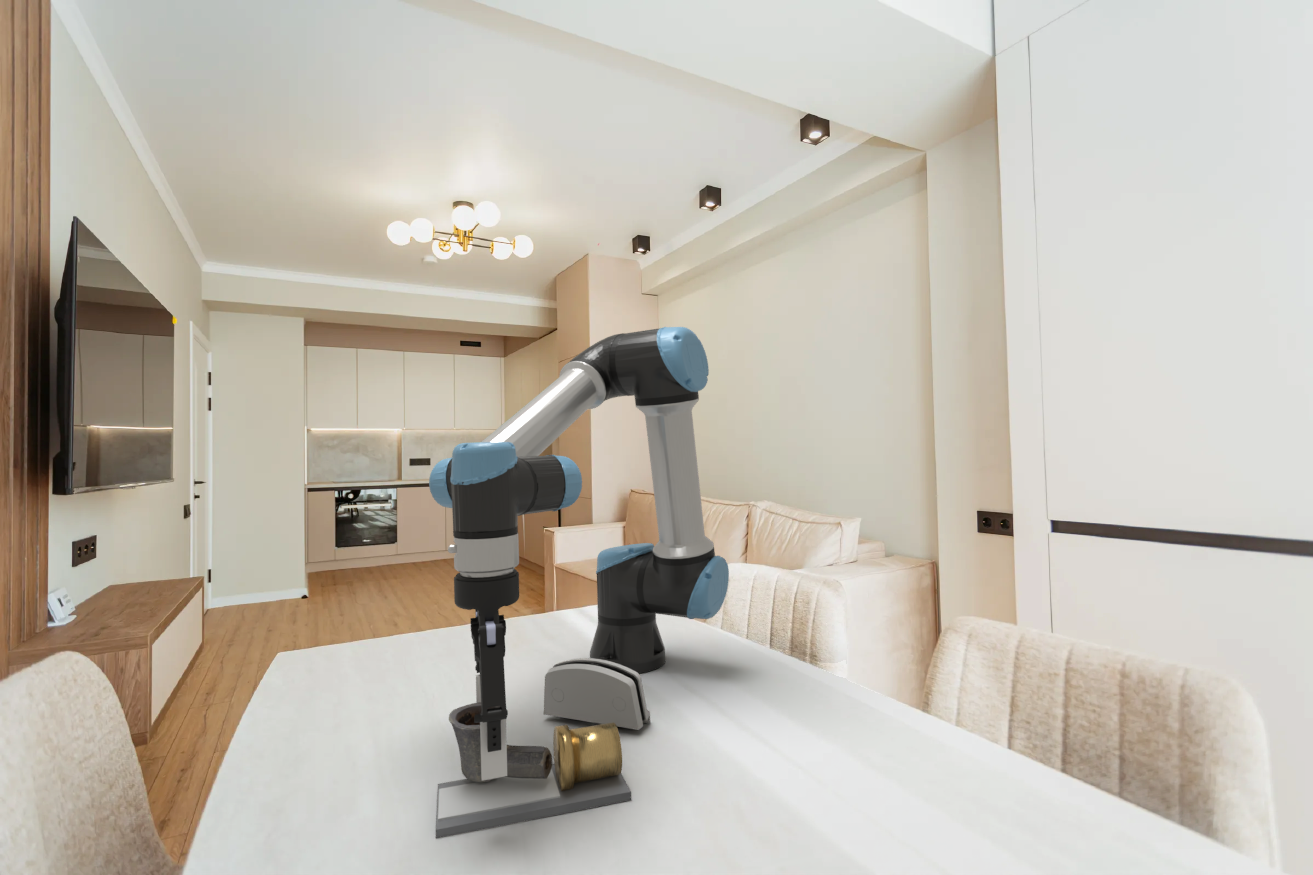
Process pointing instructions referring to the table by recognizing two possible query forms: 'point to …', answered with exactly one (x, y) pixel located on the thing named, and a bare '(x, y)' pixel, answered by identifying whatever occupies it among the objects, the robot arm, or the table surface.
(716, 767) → the table surface
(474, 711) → the pipe
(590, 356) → the robot arm
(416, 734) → the table surface
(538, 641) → the table surface
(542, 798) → the base
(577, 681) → the grey napkin holder
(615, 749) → the cylinder
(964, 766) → the table surface
